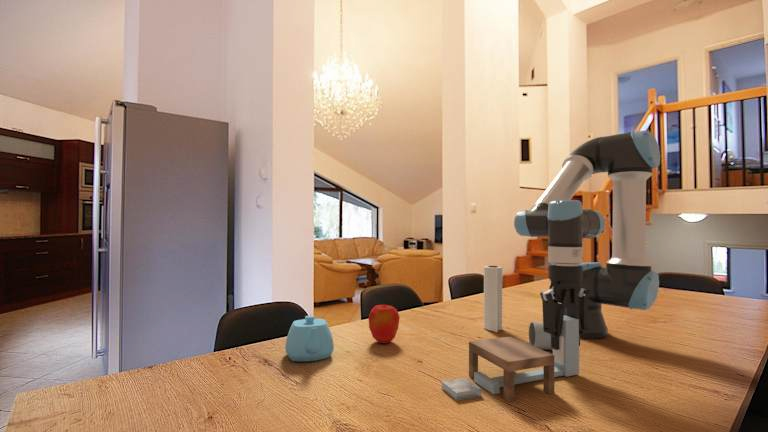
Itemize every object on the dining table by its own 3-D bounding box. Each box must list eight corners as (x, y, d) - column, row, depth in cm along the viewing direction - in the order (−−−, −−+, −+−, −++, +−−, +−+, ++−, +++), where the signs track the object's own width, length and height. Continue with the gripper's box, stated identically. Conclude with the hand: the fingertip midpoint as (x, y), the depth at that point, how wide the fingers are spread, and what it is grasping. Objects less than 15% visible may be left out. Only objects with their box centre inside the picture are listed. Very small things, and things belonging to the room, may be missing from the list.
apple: (363, 344, 111) (363, 303, 111) (375, 336, 119) (375, 298, 120) (393, 349, 107) (393, 306, 108) (403, 340, 116) (403, 300, 116)
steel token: (465, 386, 84) (465, 377, 84) (481, 398, 78) (481, 388, 78) (441, 390, 82) (441, 381, 82) (456, 402, 76) (456, 392, 76)
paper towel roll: (487, 325, 133) (487, 264, 134) (504, 328, 130) (504, 266, 130) (479, 330, 127) (479, 266, 128) (497, 333, 124) (497, 268, 124)
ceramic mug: (565, 354, 105) (565, 326, 105) (535, 352, 105) (535, 324, 106) (552, 342, 115) (552, 317, 115) (524, 341, 116) (524, 316, 116)
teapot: (288, 328, 90) (284, 311, 107) (288, 373, 90) (283, 349, 107) (340, 323, 94) (328, 308, 111) (340, 367, 94) (327, 344, 111)
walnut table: (510, 369, 93) (510, 336, 93) (554, 392, 80) (554, 355, 80) (468, 375, 89) (469, 341, 89) (508, 402, 76) (508, 362, 76)
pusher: (560, 365, 95) (560, 313, 95) (584, 376, 88) (584, 320, 88) (474, 381, 86) (473, 323, 86) (493, 394, 79) (492, 332, 79)
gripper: (549, 267, 85) (550, 372, 84) (604, 264, 91) (605, 362, 90) (525, 263, 92) (526, 360, 91) (578, 261, 98) (579, 352, 97)
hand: (565, 361), depth 91 cm, fingers closed on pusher, 4 cm apart
